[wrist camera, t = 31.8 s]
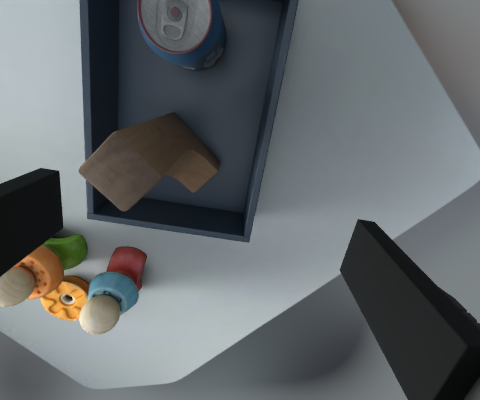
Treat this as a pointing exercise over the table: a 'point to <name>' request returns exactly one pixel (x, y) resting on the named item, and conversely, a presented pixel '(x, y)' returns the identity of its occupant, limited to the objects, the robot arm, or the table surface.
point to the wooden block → (149, 160)
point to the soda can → (184, 31)
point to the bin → (188, 110)
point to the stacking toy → (75, 283)
